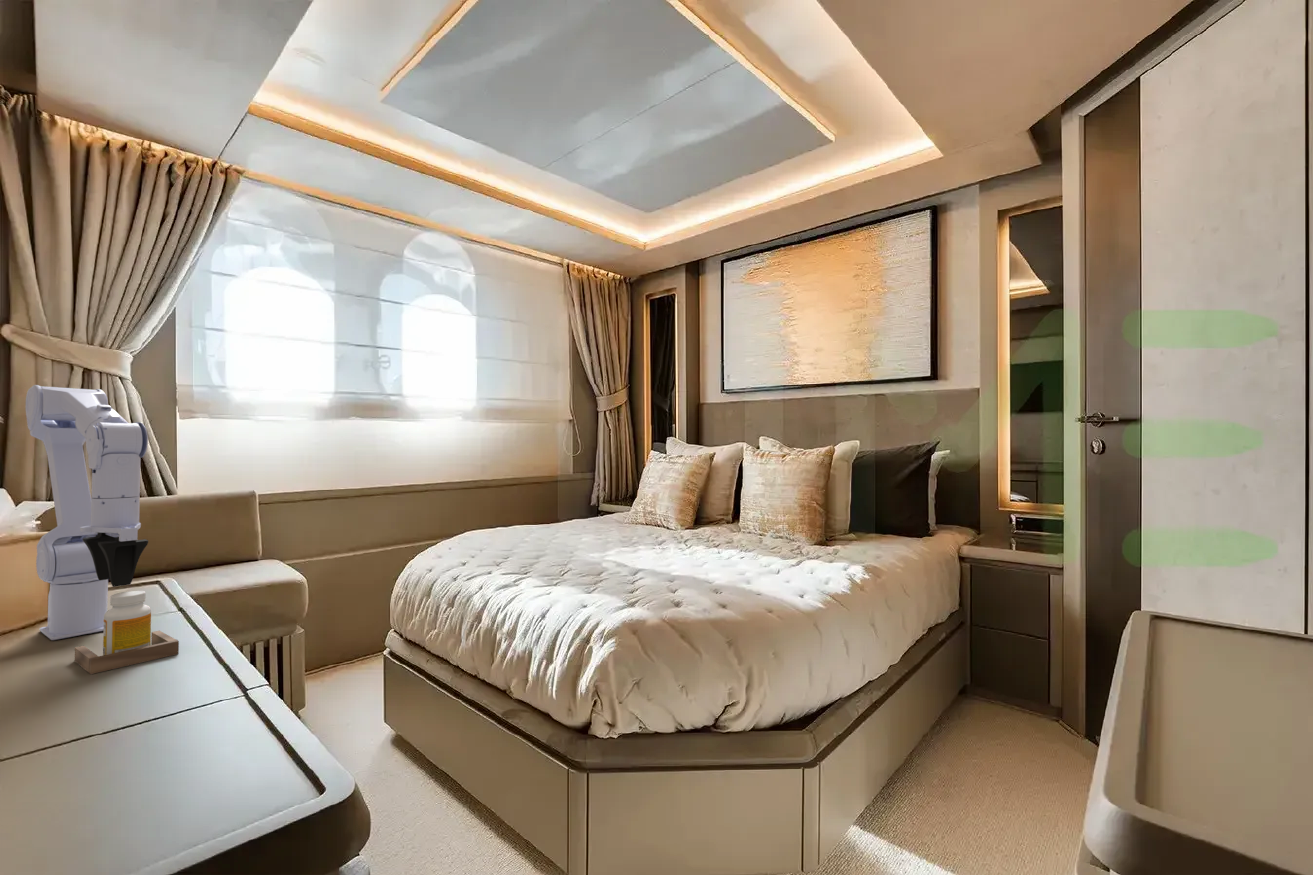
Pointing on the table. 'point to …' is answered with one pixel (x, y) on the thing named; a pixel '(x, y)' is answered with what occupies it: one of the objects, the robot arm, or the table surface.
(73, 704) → the table surface
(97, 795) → the table surface
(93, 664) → the bay
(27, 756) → the table surface
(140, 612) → the supplement bottle
